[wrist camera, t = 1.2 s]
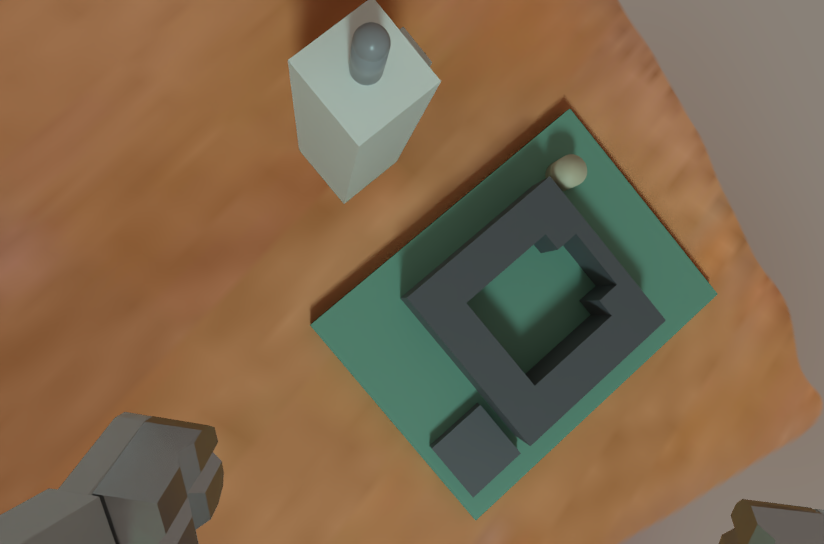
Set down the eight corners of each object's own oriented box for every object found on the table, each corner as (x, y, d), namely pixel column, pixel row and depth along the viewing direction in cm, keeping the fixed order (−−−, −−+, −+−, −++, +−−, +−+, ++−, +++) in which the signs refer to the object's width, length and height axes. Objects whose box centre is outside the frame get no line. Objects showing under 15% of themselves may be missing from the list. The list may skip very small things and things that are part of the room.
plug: (344, 203, 40) (365, 121, 22) (299, 150, 40) (282, 21, 22) (408, 151, 41) (480, 31, 23) (364, 98, 41) (402, -67, 22)
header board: (471, 515, 40) (488, 538, 36) (310, 324, 40) (309, 327, 36) (708, 294, 44) (747, 293, 40) (564, 112, 43) (589, 93, 39)
